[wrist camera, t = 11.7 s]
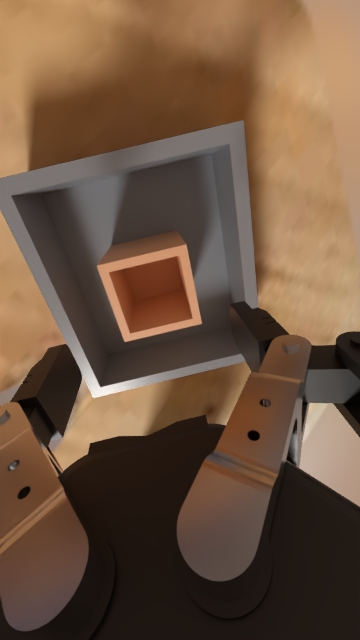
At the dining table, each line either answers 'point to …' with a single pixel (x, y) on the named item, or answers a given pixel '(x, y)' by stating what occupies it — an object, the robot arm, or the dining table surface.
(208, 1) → the dining table surface
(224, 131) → the big crate
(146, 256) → the box
